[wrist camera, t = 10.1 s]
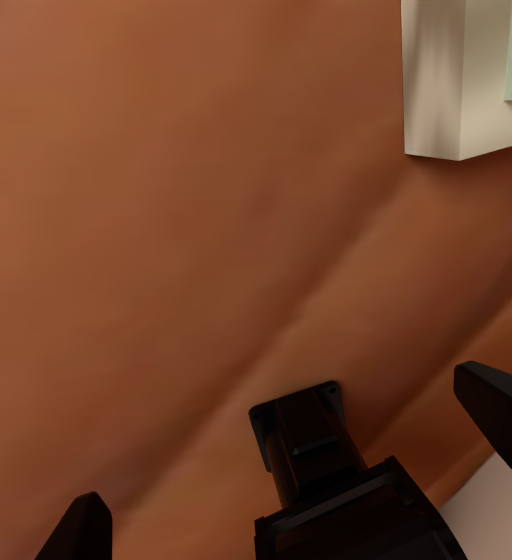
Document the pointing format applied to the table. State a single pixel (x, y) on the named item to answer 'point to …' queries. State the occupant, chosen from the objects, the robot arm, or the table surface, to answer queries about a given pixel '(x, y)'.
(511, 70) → the green cube
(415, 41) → the beige square block
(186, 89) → the table surface
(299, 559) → the robot arm
